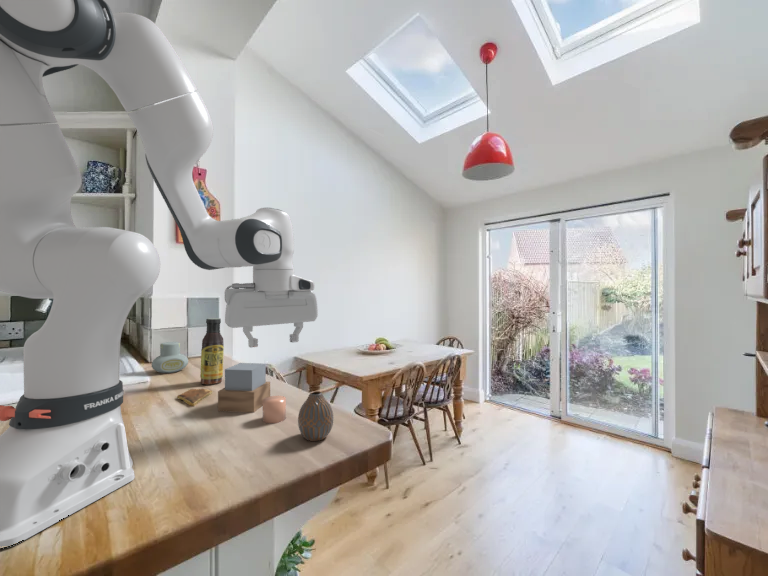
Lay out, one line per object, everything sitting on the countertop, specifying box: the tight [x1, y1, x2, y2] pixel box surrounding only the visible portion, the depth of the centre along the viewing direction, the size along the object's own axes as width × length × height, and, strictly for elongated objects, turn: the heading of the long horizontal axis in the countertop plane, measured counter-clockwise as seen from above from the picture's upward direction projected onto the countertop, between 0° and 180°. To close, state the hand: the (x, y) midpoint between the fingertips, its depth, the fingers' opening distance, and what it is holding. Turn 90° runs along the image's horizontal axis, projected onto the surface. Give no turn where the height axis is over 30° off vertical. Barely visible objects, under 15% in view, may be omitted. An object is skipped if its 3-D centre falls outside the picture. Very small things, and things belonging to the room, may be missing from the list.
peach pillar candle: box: [262, 395, 287, 425], centre depth 78 cm, size 5×5×4 cm
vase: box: [297, 390, 334, 442], centre depth 68 cm, size 7×7×9 cm
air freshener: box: [151, 341, 189, 374], centre depth 121 cm, size 11×8×10 cm
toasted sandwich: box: [176, 388, 213, 407], centre depth 91 cm, size 11×8×2 cm
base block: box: [217, 381, 271, 413], centre depth 87 cm, size 9×9×5 cm
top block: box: [224, 362, 267, 391], centre depth 87 cm, size 7×7×5 cm
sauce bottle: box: [199, 317, 225, 386], centre depth 106 cm, size 6×6×20 cm
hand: (274, 344), depth 78 cm, fingers open, 8 cm apart
